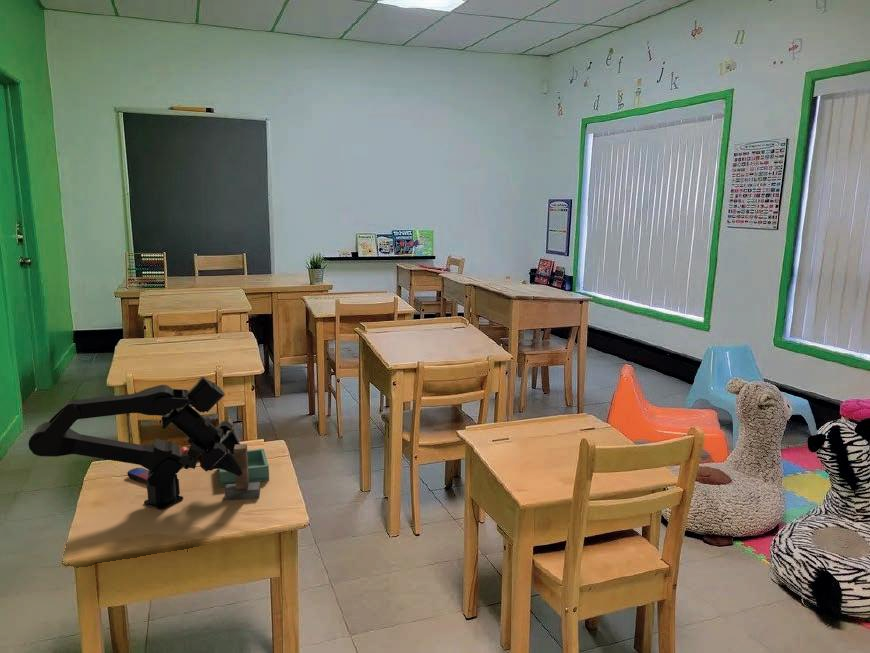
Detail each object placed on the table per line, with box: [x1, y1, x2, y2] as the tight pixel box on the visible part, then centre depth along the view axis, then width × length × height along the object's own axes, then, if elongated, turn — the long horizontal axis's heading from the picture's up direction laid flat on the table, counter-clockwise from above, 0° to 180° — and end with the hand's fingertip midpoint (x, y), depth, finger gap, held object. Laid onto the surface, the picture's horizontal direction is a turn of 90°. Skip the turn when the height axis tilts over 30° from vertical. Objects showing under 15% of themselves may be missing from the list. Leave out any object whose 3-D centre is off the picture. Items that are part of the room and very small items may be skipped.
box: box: [218, 448, 270, 488], centre depth 171 cm, size 12×12×4 cm
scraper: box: [224, 443, 261, 502], centre depth 158 cm, size 8×4×13 cm, turn 101°
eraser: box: [126, 467, 148, 486], centre depth 167 cm, size 11×4×2 cm, turn 60°
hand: (242, 466), depth 159 cm, fingers open, 9 cm apart
